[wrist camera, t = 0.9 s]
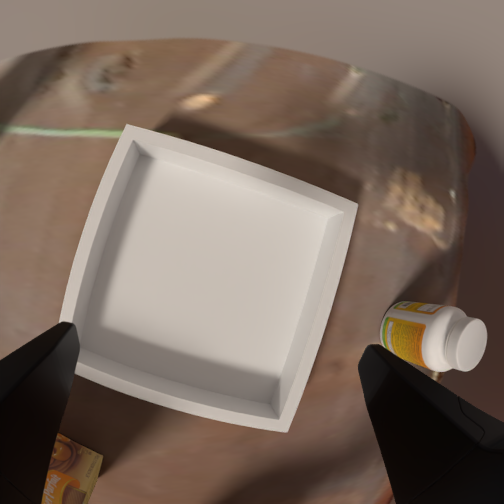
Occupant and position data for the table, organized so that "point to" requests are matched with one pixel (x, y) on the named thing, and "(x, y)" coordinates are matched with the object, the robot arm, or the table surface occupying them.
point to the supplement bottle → (433, 336)
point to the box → (205, 280)
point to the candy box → (71, 473)
